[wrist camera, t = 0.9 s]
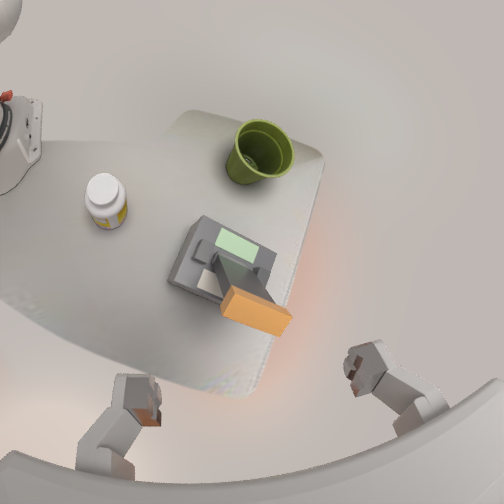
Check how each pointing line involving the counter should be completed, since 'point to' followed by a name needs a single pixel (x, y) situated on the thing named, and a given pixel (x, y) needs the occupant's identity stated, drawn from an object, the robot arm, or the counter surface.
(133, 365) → the counter surface
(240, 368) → the counter surface
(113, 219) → the supplement bottle
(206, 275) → the box
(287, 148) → the plant pot
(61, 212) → the counter surface
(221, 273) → the lever
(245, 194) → the counter surface
